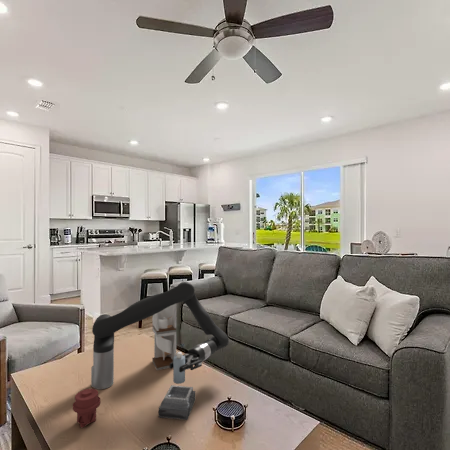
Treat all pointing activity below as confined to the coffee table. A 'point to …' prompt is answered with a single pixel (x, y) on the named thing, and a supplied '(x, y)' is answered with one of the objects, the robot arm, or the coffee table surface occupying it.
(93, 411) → the mechanical component
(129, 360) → the coffee table surface
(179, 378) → the pale blue squeeze bottle
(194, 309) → the robot arm
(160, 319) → the white shelf unit
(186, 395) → the square grey open box
